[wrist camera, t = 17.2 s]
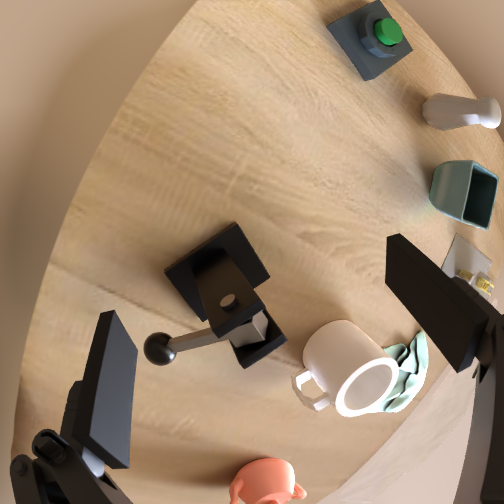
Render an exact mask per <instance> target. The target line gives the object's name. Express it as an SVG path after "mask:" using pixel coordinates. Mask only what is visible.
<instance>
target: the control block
mask: <svg viewBox="0 0 504 504" xmlns="http://www.w3.org/2000/svg"><path fill="white" fill-rule="evenodd" d="M385 18H390V19H393V18H392V16H391V15H390V14H389V12H388V11H387V9H386V8H385V7H384V5H383V4H382V2H381V1H380V0H376V1H374V2H372V3H370V4H368V5H366V6H364V7H361V8H359V9H358V10H356V11H354V12H352V13H350V14H348V15H346V16H344V17H342V18H340V19H338V20H337V21H335V22H333V23H331V24H330V25H328V26H326V27H327V28H328V30H329V31H330V32H331V34H332V35H333V36H334V38H335V39H336V40H337V42H338V43H339V44H340V46H341V47H342V48H343V50H344V51H345V53H346V54H347V55H348V57H349V58H350V60H351V61H352V63H353V64H354V66H355V67H356V68H357V70H358V71H359V73H360V74H361V76H362V77H363V79H364V81H367V80H371V79H375V78H376V77H377V76H379V75H380V74H381V73H383V72H384V71H386V70H387V69H388V68H390V67H391V66H392V65H394V64H395V63H397V62H398V61H399V60H401V59H402V58H403V57H405V56H406V55H408V54H409V53H410V52H412V51H413V49H412V47H411V46H410V44H409V42H408V41H407V39H406V38H405V36H404V34H403V38H402V40H401V41H400V42H399V43H396V44H393V45H384V44H383V43H381V42H380V41H379V40H378V39H377V37H376V36H375V34H374V25H375V23H376V22H378V21H380V20H383V19H385ZM393 20H394V19H393ZM394 21H395V20H394Z"/></svg>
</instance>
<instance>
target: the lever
mask: <svg viewBox="0 0 504 504" xmlns="http://www.w3.org/2000/svg"><path fill="white" fill-rule="evenodd" d="M267 324H268V320H267V318H266V317H265V315H264V314H263V312H262V311H261V312H259V313H258V314H256V315H255V316H253V317H252V318H250V319H249V320H247V321H246V322H244V323H242V324H241V325H239V326H238V327H236V328H235V329H233V330H232V331H230V332H229V333H227V334H226V335H224V336H223V337H221V338H219V339H218V338H217V336H216V335H215V334H214V333H213V332H212V330H211V327H210V328H207V329H203V330H200V331H196V332H193V333H189V334H186V335H182V336H179V337H175V338H172V337H171V336H170V335H168V334H166V333H163V332H157V333H153V334H151V335H150V336H149V337H148V338H147V339H146V340H145V343H144V354H145V356H146V358H147V359H148V360H149V361H150V362H151V363H153V364H155V365H159V366H163V365H167V364H169V363H171V362H172V361H173V360H174V358H175V357H176V354H177V352H181V351H185V350H189V349H193V348H197V347H201V346H205V345H209V344H213V343H217V342H220V341H224V340H228V339H230V341H231V342H232V343H233V344H234V346H235V347H240V346H244V345H248V344H252V343H256V342H259V341H263V340H265V336H266V330H267Z"/></svg>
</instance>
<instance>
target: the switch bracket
mask: <svg viewBox="0 0 504 504" xmlns="http://www.w3.org/2000/svg"><path fill="white" fill-rule="evenodd" d="M164 273H165V275H166V276H167V277H168V279H169V280H170V281H171V283H172V284H173V285H174V287H175V288H176V289H177V290H178V292H179V293H180V294H181V296H182V297H183V298H184V299H185V301H186V302H187V303H188V305H189V306H190V307H191V308H192V310H193V311H194V312H195V313H196V315H197V316H198V317H199V318H200V320H201V321H202V322H204V321H206V320H207V319H208V321H209V324H210V327H211V330H212V332H213V333H214V334H215V335H216V336H217V338H218V339H219V338H221V337H223V336H224V335H226V334H227V333H229V332H230V331H232V330H233V329H235V328H236V327H238V326H239V325H241V324H242V323H244V322H246V321H247V320H249V319H250V318H252V317H253V316H255V315H256V314H258V313H259V312H261V311H262V312H263V314H264V315H265V317H266V318H267V320H268V324H267V330H266V336H265V340H263V341H259V342H256V343H252V344H248V345H244V346H240V347H235V346H234V344H233V343H232V342H231V341H230V339H229V341H230V343H231V346H232V348H233V350H234V353H235V355H236V357H237V360H238V362H239V364H240V365H241V366H242V367H243V368H244V369H246V368H248V367H249V366H251V365H252V364H254V363H255V362H257V361H259V360H260V359H262V358H263V357H265V356H266V355H268V354H269V353H271V352H272V351H274V350H275V349H277V348H278V347H280V346H281V345H283V344H284V343H286V342H287V341H288V339H287V338H286V337H285V335H284V334H283V332H282V331H281V329H280V328H279V327H278V325H277V324H276V322H275V321H274V320H273V318H272V317H271V315H270V314H269V313H268V311H267V310H266V307H265V305H264V304H263V302H262V301H261V299H260V298H259V296H258V295H257V294H256V292H255V291H254V288H256V287H257V286H258V285H260V284H261V283H263V282H264V281H266V280H267V279H269V278H270V275H269V273H268V272H267V270H266V269H265V267H264V265H263V264H262V262H261V260H260V259H259V257H258V256H257V254H256V252H255V251H254V249H253V247H252V246H251V244H250V243H249V241H248V239H247V238H246V236H245V234H244V233H243V231H242V230H241V228H240V226H239V225H238V224H237V223H236V222H234V223H233V224H231V225H230V226H228V227H227V228H225V229H224V230H222V231H221V232H219V233H218V234H216V235H215V236H213V237H212V238H210V239H209V240H207V241H206V242H204V243H203V244H201V245H200V246H198V247H197V248H195V249H194V250H192V251H191V252H189V253H188V254H186V255H185V256H183V257H182V258H180V259H179V260H177V261H176V262H174V263H173V264H171V265H170V266H169V267H167V268H166V269H164Z"/></svg>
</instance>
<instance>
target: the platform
mask: <svg viewBox="0 0 504 504" xmlns="http://www.w3.org/2000/svg"><path fill="white" fill-rule="evenodd" d="M491 263H492V262H491V261H490V260H488V259H487V258H486V257H485V256H484V255H483V254H482V253H481V252H479V251H478V250H477V249H476V248H475V247H474V246H472V245H471V244H470V243H469V242H468V241H467V240H465V239H464V238H463V237H462V236H461V235H459V234H458V233H457V234H456V236H455V239H454V241H453V243H452V246H451V248H450V251H449V253H448V255H447V258H446V260H445V262H444V265H443V267H442V269H441V270H442V271H443V272H444V273H446V274H447V275H448V276H449V277H450V278H452V277H454V276H457V277H459V278H461V279H464V280H466V281H467V282H468V283H469V284H470V285H471V286H472V287H473V288H474V289H475V290H476V291H478V292H479V294H480V295H482V296H483V297H484V298H485V299H487V300H488V298H489V296H490V295H492V294H491V288H492V286H493V285H492V279H490V278H489V277H488V276H487V273H488V271H489V268H490V266H491ZM484 282H485V283H484ZM486 283H487V284H486ZM483 284H484V285H483ZM485 284H486V286H485ZM482 286H483V287H482ZM484 287H485V288H484ZM493 287H494V286H493Z"/></svg>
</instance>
